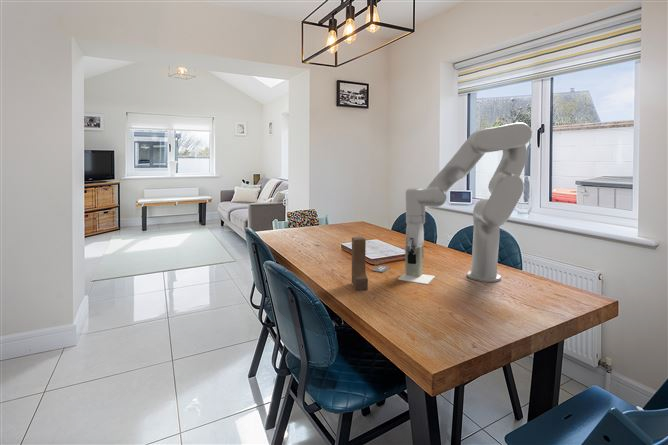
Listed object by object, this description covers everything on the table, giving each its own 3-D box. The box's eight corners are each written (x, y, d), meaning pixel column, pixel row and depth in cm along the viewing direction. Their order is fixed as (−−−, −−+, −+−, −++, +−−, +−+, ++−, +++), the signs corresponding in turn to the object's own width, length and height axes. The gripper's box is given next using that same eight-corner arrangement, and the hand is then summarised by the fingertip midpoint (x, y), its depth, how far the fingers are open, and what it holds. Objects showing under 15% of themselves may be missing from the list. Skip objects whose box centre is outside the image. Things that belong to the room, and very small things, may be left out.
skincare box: (422, 274, 148) (424, 245, 146) (419, 277, 144) (420, 247, 142) (407, 272, 151) (408, 243, 149) (404, 274, 148) (405, 245, 146)
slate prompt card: (379, 266, 161) (379, 265, 161) (390, 268, 158) (390, 267, 158) (372, 271, 154) (372, 270, 154) (382, 272, 151) (382, 271, 151)
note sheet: (406, 272, 152) (406, 271, 152) (435, 276, 146) (435, 276, 146) (397, 279, 142) (397, 278, 142) (427, 284, 136) (427, 283, 136)
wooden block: (367, 290, 130) (368, 241, 128) (355, 291, 130) (355, 242, 127) (363, 282, 139) (363, 236, 136) (351, 283, 139) (351, 237, 136)
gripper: (413, 215, 153) (413, 255, 156) (398, 222, 139) (399, 265, 141) (430, 216, 150) (430, 256, 152) (418, 223, 135) (418, 267, 138)
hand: (415, 260), depth 147 cm, fingers open, 9 cm apart
